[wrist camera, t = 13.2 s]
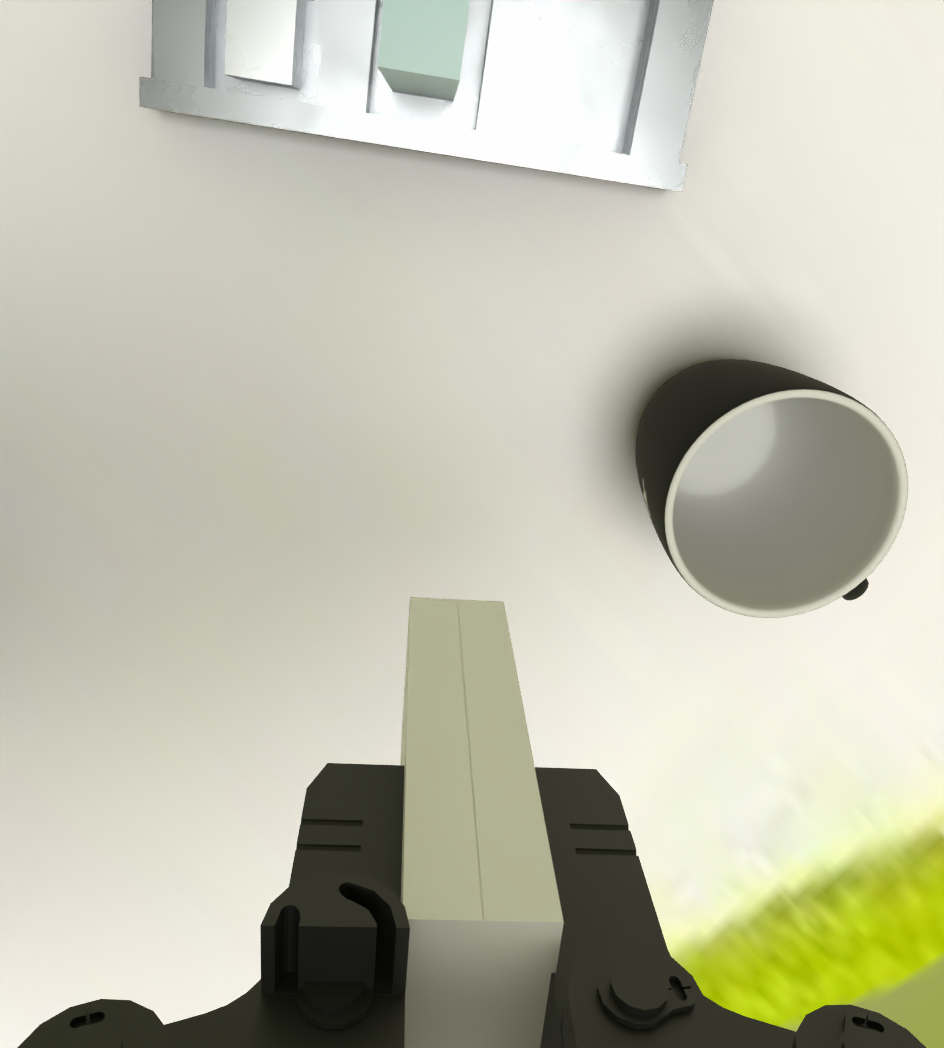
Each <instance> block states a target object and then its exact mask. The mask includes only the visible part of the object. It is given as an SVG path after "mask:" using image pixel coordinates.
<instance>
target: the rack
mask: <svg viewBox="0 0 944 1048" xmlns="http://www.w3.org/2000/svg"><path fill="white" fill-rule="evenodd" d="M383 1H384V0H152V70H151V78H144V77H140V107H145V108H151V109H156V110H162V111H168V112H174V113H181V114H187V115H193V116H200V117H206V118H212V119H219V120H225V121H232V122H238V123H244V124H251V125H257V126H263V127H270V128H276V129H282V130H289V131H295V132H302V133H308V134H314V135H321V136H327V137H333V138H340V139H346V140H352V141H359V142H365V143H372V144H378V145H384V146H391V147H397V148H403V149H410V150H416V151H422V152H429V153H435V154H442V155H448V156H454V157H461V158H467V159H473V160H480V161H486V162H493V163H499V164H505V165H512V166H518V167H524V168H531V169H537V170H543V171H550V172H556V173H563V174H569V175H575V176H582V177H588V178H594V179H601V180H607V181H613V182H620V183H626V184H633V185H639V186H645V187H652V188H658V189H664V190H672V191H681V192H682V188H683V184H684V179H685V175H686V170H687V165H688V164H682V163H679V160H680V156H681V151H682V146H683V142H684V137H685V132H686V128H687V123H688V118H689V114H690V109H691V104H692V99H693V95H694V90H695V85H696V81H697V76H698V71H699V67H700V62H701V57H702V53H703V48H704V43H705V39H706V34H707V29H708V25H709V20H710V15H711V10H712V6H713V1H714V0H470V3H469V11H468V19H467V27H466V35H465V43H464V51H463V59H462V66H461V74H460V81H459V84H458V88H457V91H456V95H455V98H454V102H453V101H447V100H441V99H435V98H429V97H422V96H416V95H410V94H404V93H398V92H393V91H392V90H391V88H390V86H389V85H388V83H387V82H386V80H385V78H384V77H383V75H382V73H381V72H380V70H379V69H378V67H377V64H378V53H379V43H380V32H381V22H382V11H383Z"/></svg>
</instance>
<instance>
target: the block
mask: <svg viewBox="0 0 944 1048" xmlns="http://www.w3.org/2000/svg"><path fill="white" fill-rule="evenodd" d="M469 3H470V0H384V1H383V11H382V22H381V32H380V43H379V53H378V64H377V67H378V69H379V70H380V72H381V73H382V75H383V77H384V78H385V80H386V82H387V83H388V85H389V86H390V88H391V90H392V91H393V92H398V93H404V94H410V95H416V96H422V97H429V98H435V99H441V100H447V101H453V102H454V98H455V95H456V91H457V88H458V84H459V81H460V74H461V66H462V59H463V51H464V43H465V35H466V27H467V19H468V11H469Z"/></svg>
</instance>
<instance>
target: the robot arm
mask: <svg viewBox="0 0 944 1048" xmlns="http://www.w3.org/2000/svg"><path fill="white" fill-rule="evenodd" d="M18 1048H926V1047H925V1046H924V1045H923V1044H922V1043H920V1041H918V1039H917V1038H915V1037H914V1036H913V1035H912V1034H911V1033H910V1032H909V1031H908V1030H907V1029H905V1028H903V1027H902V1026H900V1025H898V1024H897V1023H895V1022H893V1021H892V1020H890V1019H888V1018H886V1017H885V1016H883V1015H881V1014H880V1013H877V1012H873V1011H870V1010H867V1009H863V1008H860V1007H857V1006H853V1005H825V1006H823V1007H821V1008H819V1009H817V1010H815V1011H813V1012H811V1013H809V1014H807V1015H806V1016H805V1018H804V1019H803V1021H802V1023H801V1025H800V1026H799V1028H798V1030H797V1032H795V1031H791V1030H788V1029H785V1028H781V1027H778V1026H775V1025H771V1024H768V1023H765V1022H762V1021H758V1020H755V1019H752V1018H748V1017H745V1016H742V1015H740V1014H737V1013H735V1012H732V1011H730V1010H727V1009H725V1008H723V1007H721V1006H719V1005H718V1004H716V1003H715V1002H713V1001H711V1000H710V999H708V998H706V997H705V996H703V994H702V992H701V991H700V989H699V987H698V985H697V984H696V982H695V980H694V978H693V976H692V975H691V974H689V973H688V972H687V971H686V970H685V969H684V968H683V967H682V966H681V965H680V964H679V963H677V962H676V961H675V960H674V959H673V958H671V956H670V954H669V951H668V949H667V946H666V943H665V940H664V937H663V934H662V930H661V927H660V924H659V921H658V918H657V914H656V911H655V908H654V905H653V902H652V898H651V895H650V892H649V889H648V886H647V883H646V879H645V876H644V873H643V870H642V867H641V863H640V860H639V857H638V856H636V847H635V844H634V841H633V838H632V835H631V831H629V830H628V822H627V819H626V815H625V812H624V809H623V806H622V803H621V799H620V796H619V795H618V793H617V792H616V791H615V790H614V789H613V788H612V787H611V786H610V785H609V783H608V782H607V781H606V780H605V779H604V778H603V777H602V776H601V775H600V773H599V772H598V771H597V770H596V769H569V768H539V767H534V762H533V756H532V751H531V746H530V740H529V735H528V730H527V724H526V719H525V714H524V708H523V703H522V698H521V692H520V687H519V682H518V676H517V671H516V666H515V661H514V655H513V650H512V645H511V639H510V634H509V629H508V623H507V618H506V613H505V607H504V602H497V601H476V600H455V599H434V598H413V597H410V608H409V625H408V641H407V658H406V675H405V691H404V708H403V724H402V741H401V766H398V765H367V764H337V763H327V765H326V766H325V767H324V768H323V770H322V771H321V772H320V773H319V774H318V776H317V777H316V778H315V779H314V780H313V782H312V783H311V784H310V785H309V787H308V788H307V791H306V796H305V802H304V807H303V813H302V818H301V825H300V829H299V835H298V840H297V849H296V851H295V857H294V862H293V868H292V873H291V879H290V884H289V888H287V889H286V890H285V891H284V892H283V893H282V894H281V895H280V896H279V897H277V898H276V899H275V900H274V901H273V902H272V903H271V904H270V906H269V908H268V911H267V913H266V915H265V917H264V919H263V921H262V924H261V980H260V981H259V982H258V983H257V984H255V985H254V986H253V987H252V988H251V989H250V990H249V991H248V992H247V993H246V994H244V995H242V996H241V997H239V998H238V999H236V1000H234V1001H233V1002H231V1003H230V1004H228V1005H226V1006H223V1007H221V1008H218V1009H216V1010H213V1011H210V1012H208V1013H205V1014H202V1015H198V1016H195V1017H191V1018H187V1019H184V1020H180V1021H177V1022H173V1023H170V1024H166V1025H163V1023H162V1022H161V1021H160V1019H159V1018H158V1017H157V1015H156V1014H155V1013H154V1011H152V1010H150V1009H147V1008H145V1007H143V1006H141V1005H139V1004H137V1003H135V1002H132V1001H130V1000H110V999H100V1000H96V1001H92V1002H88V1003H85V1004H81V1005H77V1006H73V1007H70V1008H68V1009H66V1010H65V1011H63V1012H61V1013H59V1014H58V1015H56V1016H54V1017H53V1018H51V1019H49V1020H47V1021H46V1022H44V1023H42V1024H40V1025H39V1026H38V1027H37V1028H36V1029H35V1030H34V1031H33V1033H32V1034H31V1035H30V1036H29V1037H28V1038H27V1039H26V1040H25V1041H24V1042H23V1043H22V1044H21V1045H20V1046H19V1047H18Z"/></svg>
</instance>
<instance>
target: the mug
mask: <svg viewBox="0 0 944 1048" xmlns="http://www.w3.org/2000/svg"><path fill="white" fill-rule="evenodd" d="M636 465H637V471H638V477H639V482H640V487H641V490H642V494H643V497H644V501H645V504H646V507H647V510H648V513H649V515H650V518H651V520H652V523H653V525H654V528H655V530H656V532H657V535H658V537H659V539H660V541H661V543H662V545H663V547H664V549H665V551H666V553H667V555H668V556H669V558H670V560H671V562H672V563H673V565H674V566H675V568H676V569H677V571H678V572H679V574H680V575H681V576H682V578H683V579H684V580H685V581H686V582H687V583H688V585H689V586H690V587H692V588H693V589H694V590H695V591H696V592H697V593H698V594H699V595H701V596H702V597H704V598H705V599H706V600H708V601H709V602H711V603H713V604H715V605H716V606H718V607H721V608H723V609H725V610H728V611H731V612H734V613H737V614H741V615H745V616H752V617H762V618H775V617H786V616H793V615H797V614H802V613H805V612H809V611H812V610H815V609H817V608H820V607H822V606H825V605H827V604H829V603H831V602H833V601H835V600H837V599H838V598H840V597H843V598H844V599H846V600H853V599H856V598H858V597H860V596H861V595H862V594H863V593H864V592H865V591H866V589H867V588H868V581H867V579H866V578H867V577H868V576H869V575H870V574H871V573H872V572H873V571H874V569H875V568H876V567H877V566H878V565H879V563H880V562H881V561H882V560H883V558H884V557H885V555H886V554H887V553H888V551H889V549H890V548H891V546H892V544H893V542H894V540H895V538H896V536H897V534H898V532H899V529H900V527H901V524H902V521H903V518H904V514H905V510H906V504H907V497H908V477H907V470H906V464H905V461H904V457H903V454H902V452H901V449H900V447H899V444H898V443H897V441H896V439H895V437H894V435H893V434H892V432H891V431H890V430H889V428H888V427H887V426H886V424H885V423H884V422H883V421H882V420H881V419H880V418H879V417H878V416H877V415H876V414H875V413H874V412H873V411H871V410H870V409H869V408H868V407H866V406H865V405H863V404H862V403H860V402H859V401H857V400H856V399H854V398H853V397H851V396H849V395H848V394H846V393H844V392H842V391H840V390H838V389H836V388H834V387H832V386H830V385H828V384H825V383H823V382H821V381H818V380H816V379H813V378H811V377H808V376H805V375H803V374H800V373H797V372H794V371H791V370H788V369H785V368H781V367H778V366H774V365H770V364H766V363H761V362H755V361H748V360H736V359H727V360H715V361H709V362H705V363H701V364H698V365H695V366H692V367H690V368H688V369H685V370H684V371H682V372H680V373H678V374H677V375H675V376H674V377H672V378H671V379H670V380H669V381H667V382H666V383H665V384H664V385H663V386H662V387H661V388H660V389H659V390H658V391H657V392H656V394H655V395H654V396H653V397H652V399H651V400H650V402H649V403H648V405H647V407H646V409H645V411H644V413H643V415H642V418H641V421H640V424H639V428H638V432H637V439H636Z"/></svg>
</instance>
